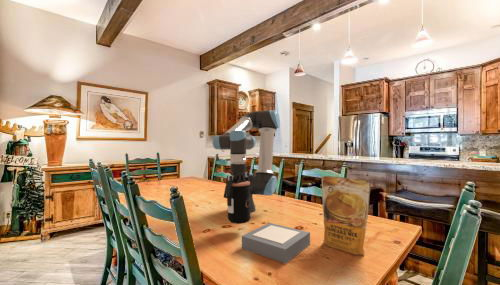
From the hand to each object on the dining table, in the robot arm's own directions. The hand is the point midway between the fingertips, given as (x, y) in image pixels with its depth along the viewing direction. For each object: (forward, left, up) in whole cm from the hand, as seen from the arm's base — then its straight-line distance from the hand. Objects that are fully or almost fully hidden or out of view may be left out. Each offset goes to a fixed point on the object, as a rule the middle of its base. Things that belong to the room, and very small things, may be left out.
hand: (239, 209), depth 112 cm
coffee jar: (0, 0, -5) cm, 5 cm away
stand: (+22, -2, -11) cm, 25 cm away
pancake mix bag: (+44, +13, -11) cm, 47 cm away
